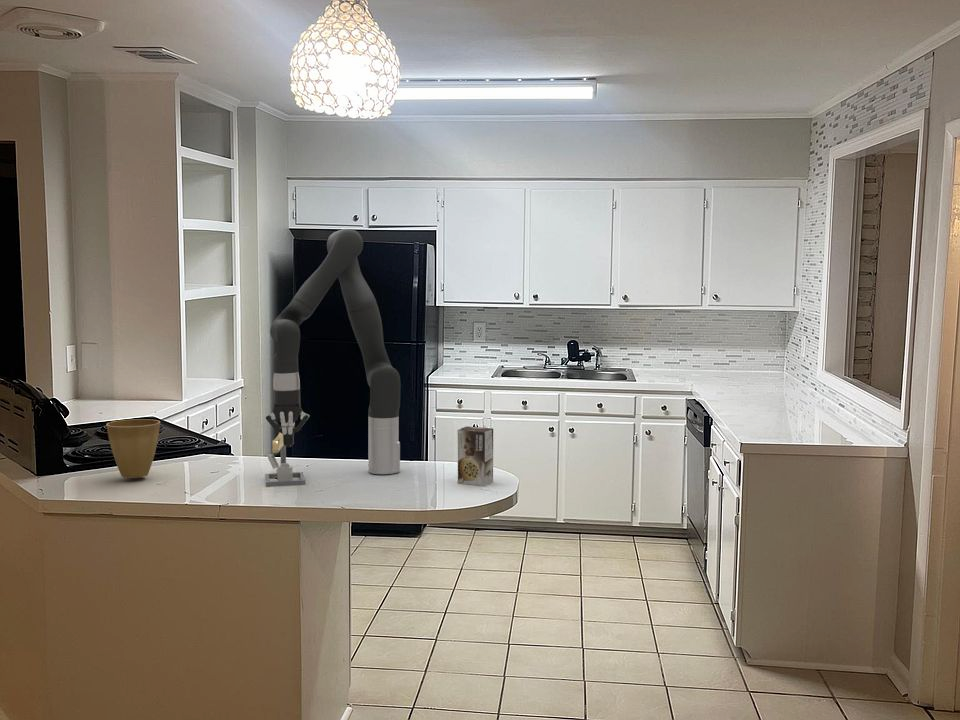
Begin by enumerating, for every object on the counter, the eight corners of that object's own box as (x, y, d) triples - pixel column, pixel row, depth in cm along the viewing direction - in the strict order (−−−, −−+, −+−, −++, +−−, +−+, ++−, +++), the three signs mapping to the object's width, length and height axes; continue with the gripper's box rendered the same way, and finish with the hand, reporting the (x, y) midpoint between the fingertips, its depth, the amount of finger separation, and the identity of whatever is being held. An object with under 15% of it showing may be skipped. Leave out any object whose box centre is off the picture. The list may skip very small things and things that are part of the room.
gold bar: (287, 441, 265) (287, 430, 265) (279, 453, 248) (279, 441, 248) (279, 441, 265) (279, 430, 265) (271, 453, 248) (270, 441, 248)
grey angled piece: (292, 480, 256) (292, 453, 255) (291, 482, 254) (290, 455, 254) (269, 479, 257) (269, 453, 256) (267, 481, 255) (267, 454, 254)
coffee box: (493, 482, 257) (494, 428, 256) (484, 486, 251) (485, 431, 250) (466, 478, 261) (466, 425, 259) (456, 483, 255) (457, 428, 254)
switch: (301, 471, 268) (301, 441, 267) (305, 484, 252) (305, 453, 251) (264, 472, 265) (264, 443, 265) (266, 486, 249) (265, 454, 248)
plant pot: (170, 475, 260) (168, 422, 259) (120, 483, 250) (118, 428, 248) (148, 467, 271) (147, 416, 269) (99, 474, 260) (98, 422, 259)
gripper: (311, 385, 257) (313, 443, 259) (266, 386, 257) (268, 444, 259) (307, 389, 250) (309, 448, 252) (261, 389, 249) (263, 449, 251)
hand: (288, 446), depth 255 cm, fingers closed
